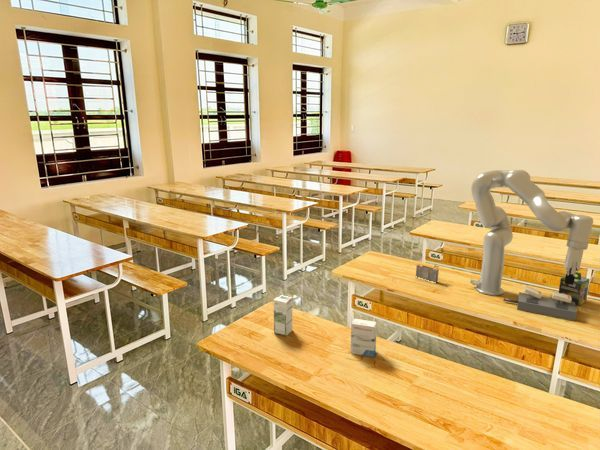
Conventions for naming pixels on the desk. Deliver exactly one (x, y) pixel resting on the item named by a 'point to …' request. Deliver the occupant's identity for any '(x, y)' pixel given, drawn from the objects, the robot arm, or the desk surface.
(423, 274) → the architectural model on board
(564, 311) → the power strip
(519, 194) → the robot arm
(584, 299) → the chalk box
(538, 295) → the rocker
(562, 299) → the block
